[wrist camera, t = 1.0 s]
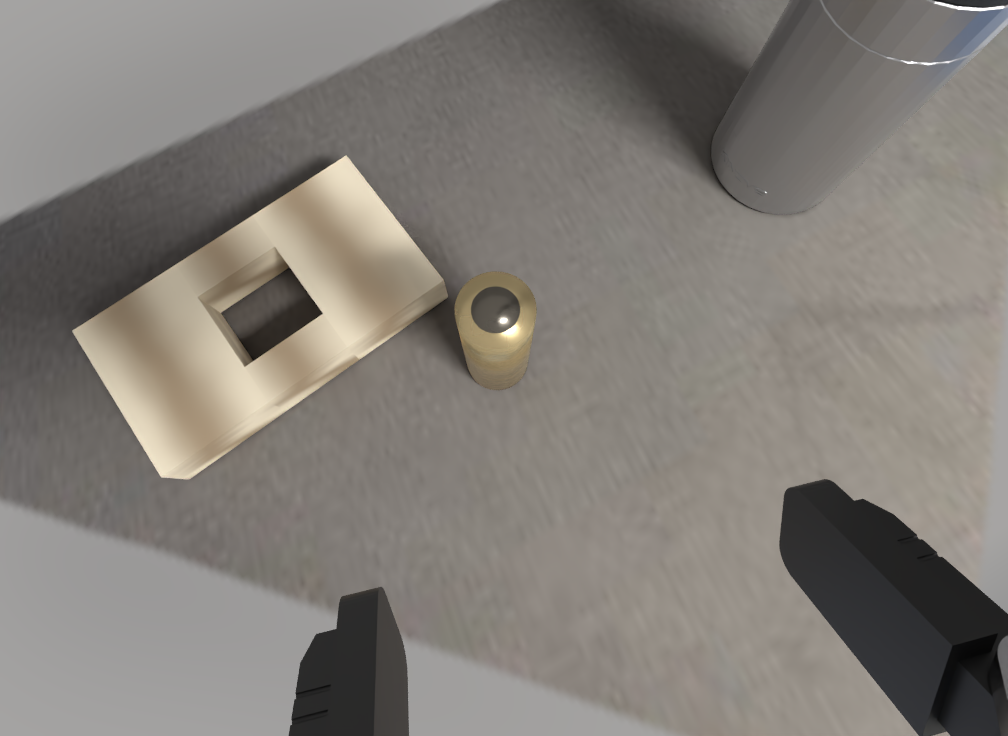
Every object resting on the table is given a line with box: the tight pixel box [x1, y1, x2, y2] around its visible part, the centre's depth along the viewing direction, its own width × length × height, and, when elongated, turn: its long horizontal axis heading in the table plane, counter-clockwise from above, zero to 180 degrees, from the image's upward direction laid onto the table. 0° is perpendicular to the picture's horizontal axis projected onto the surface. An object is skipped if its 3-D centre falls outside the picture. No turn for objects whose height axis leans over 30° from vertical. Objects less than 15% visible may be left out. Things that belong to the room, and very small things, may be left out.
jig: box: [72, 156, 448, 479], centre depth 37 cm, size 20×11×3 cm, turn 127°
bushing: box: [455, 272, 537, 390], centre depth 33 cm, size 4×4×10 cm
